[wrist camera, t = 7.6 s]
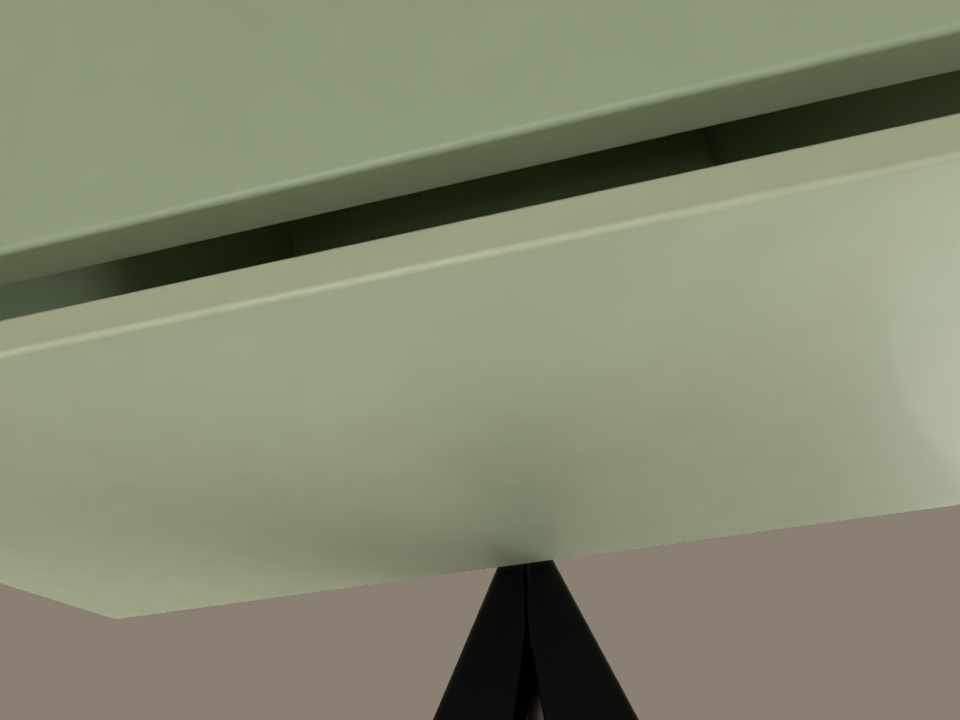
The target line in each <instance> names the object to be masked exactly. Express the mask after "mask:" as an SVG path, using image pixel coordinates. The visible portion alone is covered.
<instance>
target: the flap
mask: <svg viewBox="0 0 960 720" xmlns="http://www.w3.org/2000/svg"><path fill="white" fill-rule="evenodd" d="M959 504H960V113H957V114H952V115H948V116H943V117H939V118H934V119H929V120H925V121H920V122H916V123H911V124H906V125H902V126H897V127H892V128H888V129H883V130H879V131H874V132H869V133H865V134H860V135H856V136H851V137H846V138H842V139H837V140H832V141H828V142H823V143H819V144H814V145H809V146H805V147H800V148H795V149H791V150H786V151H782V152H777V153H772V154H768V155H763V156H759V157H754V158H749V159H745V160H740V161H735V162H731V163H726V164H722V165H717V166H712V167H708V168H703V169H699V170H694V171H689V172H685V173H680V174H675V175H671V176H666V177H662V178H657V179H652V180H648V181H643V182H639V183H634V184H629V185H625V186H620V187H615V188H611V189H606V190H602V191H597V192H592V193H588V194H583V195H578V196H574V197H569V198H565V199H560V200H555V201H551V202H546V203H542V204H537V205H532V206H528V207H523V208H518V209H514V210H509V211H505V212H500V213H495V214H491V215H486V216H482V217H477V218H472V219H468V220H463V221H458V222H454V223H449V224H445V225H440V226H435V227H431V228H426V229H422V230H417V231H412V232H408V233H403V234H398V235H394V236H389V237H385V238H380V239H375V240H371V241H366V242H361V243H357V244H352V245H348V246H343V247H338V248H334V249H329V250H325V251H320V252H315V253H311V254H306V255H301V256H297V257H292V258H288V259H283V260H278V261H274V262H269V263H265V264H260V265H255V266H251V267H246V268H241V269H237V270H232V271H228V272H223V273H218V274H214V275H209V276H205V277H200V278H195V279H191V280H186V281H181V282H177V283H172V284H168V285H163V286H158V287H154V288H149V289H144V290H140V291H135V292H131V293H126V294H121V295H117V296H112V297H108V298H103V299H98V300H94V301H89V302H84V303H80V304H75V305H71V306H66V307H61V308H57V309H52V310H48V311H43V312H38V313H34V314H29V315H24V316H20V317H15V318H11V319H6V320H1V321H0V583H2V584H6V585H9V586H12V587H15V588H18V589H21V590H24V591H28V592H31V593H34V594H38V595H41V596H44V597H47V598H50V599H53V600H56V601H60V602H63V603H66V604H69V605H73V606H76V607H79V608H82V609H85V610H88V611H92V612H95V613H98V614H101V615H104V616H108V617H111V618H114V619H119V618H126V617H133V616H140V615H148V614H155V613H163V612H170V611H178V610H185V609H192V608H199V607H207V606H215V605H221V604H229V603H237V602H244V601H251V600H258V599H266V598H273V597H281V596H288V595H296V594H303V593H310V592H318V591H324V590H333V589H340V588H347V587H355V586H362V585H369V584H377V583H384V582H391V581H398V580H406V579H413V578H421V577H428V576H436V575H443V574H450V573H457V572H465V571H473V570H480V569H487V568H494V567H502V566H509V565H517V564H524V563H532V562H539V561H546V560H554V559H561V558H568V557H576V556H583V555H590V554H598V553H605V552H612V551H620V550H627V549H635V548H642V547H650V546H657V545H664V544H672V543H679V542H686V541H694V540H701V539H708V538H715V537H722V536H731V535H738V534H745V533H753V532H760V531H767V530H775V529H782V528H790V527H797V526H804V525H812V524H818V523H826V522H834V521H841V520H849V519H855V518H863V517H871V516H878V515H885V514H892V513H899V512H908V511H915V510H922V509H930V508H937V507H944V506H952V505H959Z"/></svg>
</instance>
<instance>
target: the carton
mask: <svg viewBox="0 0 960 720" xmlns="http://www.w3.org/2000/svg"><path fill="white" fill-rule="evenodd" d="M957 113H960V0H0V321H1V320H6V319H11V318H15V317H20V316H24V315H29V314H34V313H38V312H43V311H48V310H52V309H57V308H61V307H66V306H71V305H75V304H80V303H84V302H89V301H94V300H98V299H103V298H108V297H112V296H117V295H121V294H126V293H131V292H135V291H140V290H144V289H149V288H154V287H158V286H163V285H168V284H172V283H177V282H181V281H186V280H191V279H195V278H200V277H205V276H209V275H214V274H218V273H223V272H228V271H232V270H237V269H241V268H246V267H251V266H255V265H260V264H265V263H269V262H274V261H278V260H283V259H288V258H292V257H297V256H301V255H306V254H311V253H315V252H320V251H325V250H329V249H334V248H338V247H343V246H348V245H352V244H357V243H361V242H366V241H371V240H375V239H380V238H385V237H389V236H394V235H398V234H403V233H408V232H412V231H417V230H422V229H426V228H431V227H435V226H440V225H445V224H449V223H454V222H458V221H463V220H468V219H472V218H477V217H482V216H486V215H491V214H495V213H500V212H505V211H509V210H514V209H518V208H523V207H528V206H532V205H537V204H542V203H546V202H551V201H555V200H560V199H565V198H569V197H574V196H578V195H583V194H588V193H592V192H597V191H602V190H606V189H611V188H615V187H620V186H625V185H629V184H634V183H639V182H643V181H648V180H652V179H657V178H662V177H666V176H671V175H675V174H680V173H685V172H689V171H694V170H699V169H703V168H708V167H712V166H717V165H722V164H726V163H731V162H735V161H740V160H745V159H749V158H754V157H759V156H763V155H768V154H772V153H777V152H782V151H786V150H791V149H795V148H800V147H805V146H809V145H814V144H819V143H823V142H828V141H832V140H837V139H842V138H846V137H851V136H856V135H860V134H865V133H869V132H874V131H879V130H883V129H888V128H892V127H897V126H902V125H906V124H911V123H916V122H920V121H925V120H929V119H934V118H939V117H943V116H948V115H952V114H957Z"/></svg>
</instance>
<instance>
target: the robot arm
mask: <svg viewBox="0 0 960 720" xmlns="http://www.w3.org/2000/svg"><path fill="white" fill-rule="evenodd" d="M433 720H639V719H638V717H637V715H636V714H635V712H634V710H633V708H632V706H631V704H630V702H629V701H628V699H627V697H626V695H625V693H624V691H623V689H622V688H621V686H620V684H619V682H618V680H617V678H616V677H615V675H614V673H613V671H612V669H611V667H610V665H609V663H608V662H607V660H606V658H605V656H604V654H603V652H602V650H601V649H600V647H599V645H598V643H597V641H596V639H595V638H594V636H593V634H592V632H591V630H590V628H589V626H588V624H587V623H586V621H585V619H584V617H583V615H582V613H581V612H580V610H579V608H578V606H577V604H576V602H575V600H574V598H573V597H572V595H571V593H570V591H569V590H568V587H567V585H566V584H565V582H564V580H563V578H562V576H561V574H560V572H559V571H558V569H557V567H556V565H555V563H554V561H553V560H546V561H539V562H532V563H524V564H517V565H509V566H502V567H498V568H497V570H496V573H495V574H494V577H493V579H492V582H491V584H490V586H489V589H488V591H487V593H486V596H485V598H484V601H483V603H482V605H481V608H480V610H479V612H478V615H477V617H476V620H475V622H474V624H473V627H472V629H471V631H470V634H469V636H468V638H467V641H466V643H465V646H464V648H463V650H462V653H461V655H460V657H459V660H458V662H457V665H456V667H455V669H454V672H453V674H452V676H451V679H450V681H449V683H448V686H447V688H446V691H445V693H444V695H443V698H442V700H441V702H440V705H439V707H438V709H437V712H436V714H435V717H434V719H433Z"/></svg>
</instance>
